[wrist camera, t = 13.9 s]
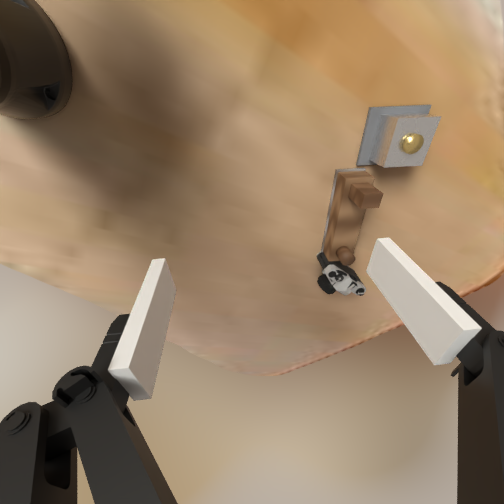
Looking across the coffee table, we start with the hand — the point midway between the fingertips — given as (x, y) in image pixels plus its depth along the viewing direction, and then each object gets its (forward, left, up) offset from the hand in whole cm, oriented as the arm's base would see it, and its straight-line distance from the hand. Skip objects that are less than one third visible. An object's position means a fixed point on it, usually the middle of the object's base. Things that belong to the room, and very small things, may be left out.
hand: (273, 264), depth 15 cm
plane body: (+19, -13, -31) cm, 39 cm away
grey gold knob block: (+25, +1, -31) cm, 40 cm away
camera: (+20, -29, -31) cm, 47 cm away
